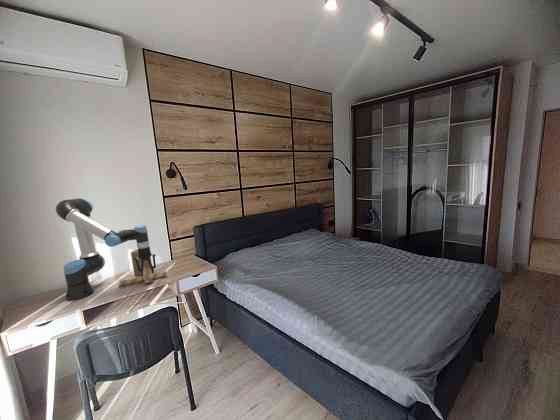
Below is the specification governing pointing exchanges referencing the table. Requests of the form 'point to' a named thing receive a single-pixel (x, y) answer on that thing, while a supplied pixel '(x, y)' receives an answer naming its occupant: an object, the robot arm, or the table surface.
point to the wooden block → (146, 263)
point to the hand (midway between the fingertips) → (148, 278)
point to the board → (141, 280)
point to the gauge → (147, 274)
